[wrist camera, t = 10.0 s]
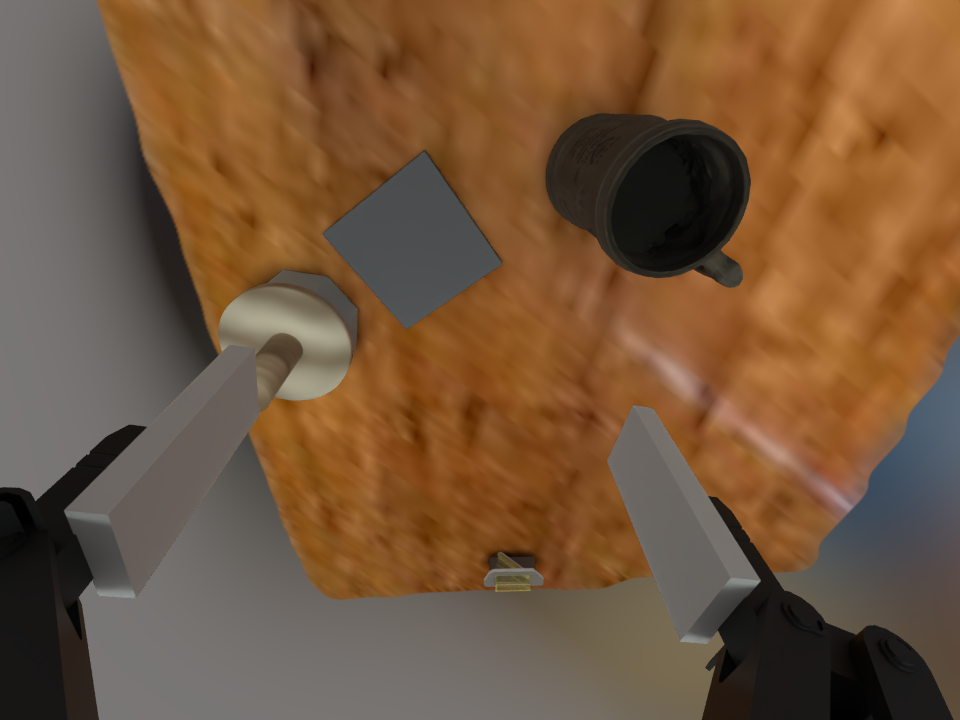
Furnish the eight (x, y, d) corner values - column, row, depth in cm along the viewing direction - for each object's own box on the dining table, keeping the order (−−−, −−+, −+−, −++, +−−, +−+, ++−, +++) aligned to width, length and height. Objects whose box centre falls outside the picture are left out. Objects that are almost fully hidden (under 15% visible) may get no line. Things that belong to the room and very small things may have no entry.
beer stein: (519, 188, 45) (569, 245, 28) (581, 84, 41) (685, 78, 24) (627, 257, 50) (724, 341, 33) (692, 172, 46) (843, 219, 29)
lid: (218, 272, 43) (152, 315, 34) (355, 293, 45) (327, 340, 36) (232, 384, 50) (179, 445, 40) (351, 399, 51) (326, 461, 42)
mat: (324, 232, 47) (322, 234, 46) (425, 150, 43) (424, 151, 43) (407, 326, 53) (406, 329, 52) (501, 261, 49) (502, 263, 48)
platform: (459, 529, 72) (459, 565, 66) (566, 527, 73) (574, 563, 67) (460, 574, 78) (460, 610, 72) (558, 572, 79) (566, 607, 73)
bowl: (250, 264, 48) (226, 280, 44) (359, 281, 50) (347, 298, 45) (258, 356, 54) (238, 380, 49) (355, 369, 56) (345, 393, 51)
